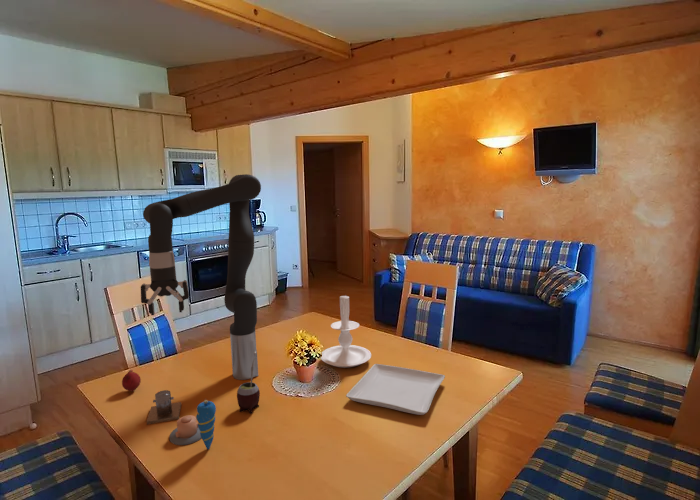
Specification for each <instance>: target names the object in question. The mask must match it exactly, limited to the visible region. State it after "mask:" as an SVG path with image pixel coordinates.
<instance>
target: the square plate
mask: <svg viewBox="0 0 700 500" xmlns="http://www.w3.org/2000/svg"><path fill="white" fill-rule="evenodd" d="M445 376H446V375H444V374H441V373H435V372H429V371H425V370H419V369H415V368H407V367H401V366H396V365H395V366H394V365H387V364H379V363H374V364H373V365H372V366H371V367H370V368H369V369H368V371H367V372H366V373H365V374H363V376H362V377H361V378H360V379H358V382H356V384H354V386H352V388H351V389H350V390H349V391H348V392H347V393H346V395H345V398H348V399H349V400H351V401H354V402H355V403H356V402H358V403H362V404H367V405H371V406H378V407H383V408H387V409H392V410H395V411H399V412H404V413H408V414H413V415H418V416H419V415H420V416H423V415H426V414H427V413H428V412H429V409H430V408H431V404H432V402H433V399H434V397H435V395H436V393H437V390H438V389H439V387H440V386H441V384H442V383H443V381H444V379H445V378H446V377H445Z"/></svg>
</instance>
